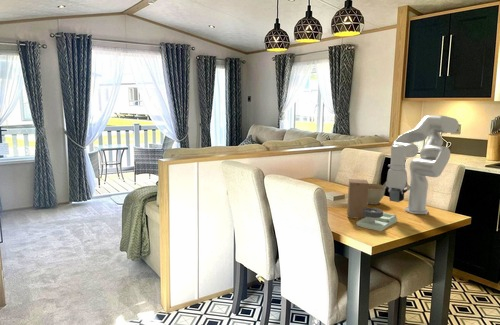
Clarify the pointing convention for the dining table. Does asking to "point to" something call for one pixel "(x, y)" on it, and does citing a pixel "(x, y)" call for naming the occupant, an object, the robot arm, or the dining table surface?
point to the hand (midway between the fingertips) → (396, 199)
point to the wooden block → (357, 198)
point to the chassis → (378, 222)
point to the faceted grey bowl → (370, 213)
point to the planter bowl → (375, 193)
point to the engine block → (395, 195)
